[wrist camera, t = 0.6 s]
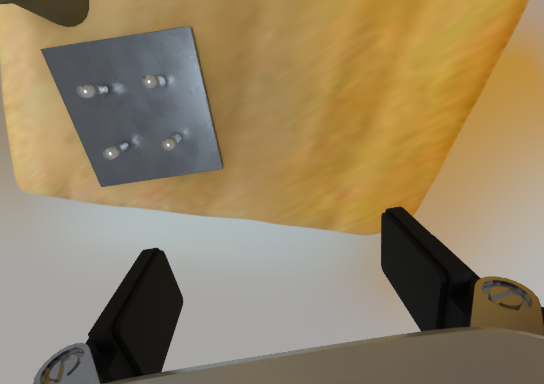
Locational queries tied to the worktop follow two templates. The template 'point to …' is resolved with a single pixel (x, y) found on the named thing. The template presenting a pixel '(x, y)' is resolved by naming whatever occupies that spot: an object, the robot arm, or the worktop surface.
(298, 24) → the worktop surface
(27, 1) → the olive tapered piece
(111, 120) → the pin plate
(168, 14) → the worktop surface
